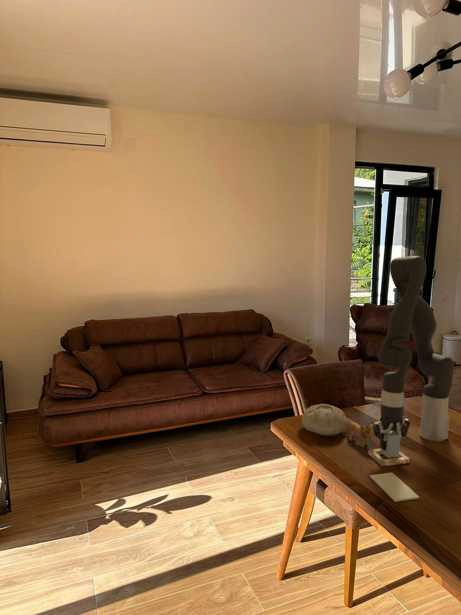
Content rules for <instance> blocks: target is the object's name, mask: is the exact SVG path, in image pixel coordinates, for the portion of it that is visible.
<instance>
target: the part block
mask: <svg viewBox="0 0 461 615" xmlns="http://www.w3.org/2000/svg"><path fill="white" fill-rule="evenodd" d="M385 431H386V430H385ZM386 441H387V444H386V450H385V451H384V450H383V449H382V448H381V447H380V449H381V453H382V454H381V455H383V456H385V457H386V459H392V458H398V457H399V452H401V444H400V434H397V433H396V432H394V431H390V434H389V435H387V439H386Z"/></svg>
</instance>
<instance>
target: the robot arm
mask: <svg viewBox="0 0 461 615" xmlns="http://www.w3.org/2000/svg"><path fill="white" fill-rule="evenodd" d="M389 273H390V277H391V280H392V282H393V284H394V286H395V289H396V291H397V294H398V295H399V298H400V301H399V302H398V303H397V304H396V306H395V307H394V309H393V310H392V312H391V314H390V318H389V323H388V330H387V333H386V335H385V338H384V341H383V343H382V344H381V346H380V349H379V351H378V355H377V357H378V358H377V359H378V360H379V363H380V364H381V365H383V366H385V367H386V366H387V367H393V368H397V371H388V372H387V371H386V372H385V373H384V374H383V376H382V388H381V390H382V391H381V396H380V419H379V420H378V421H373V422H372V423H371V424H372V425H373V429H374V433H375V437H376V438H377V439H378V440H379V443H380V444H379V447H380V449H381V448H382V449H383V450H384V451H385V450H386V444H387V441H386V439H387V435H389V434H390V431H394V432H396V433H397V434H400V445H401V444H402V442H401V440H402V438H403V437H404V438H406V437H407V436H408V432H409V429H410V425H411V420H409V419H408V418H404V411H405V380H406V376H407V372H408V370H409V367H410V364H411V362H412V356H413V354H412V351H411V350H410V349H409V348H408V347H403V346H396V345H395V343H397V342H403V341H407V340H409V338H410V335H411V334H412V338H413V342H414V345H415V346H414V347H415V349H416V353H417V361H418V365H419V368H420V371H421V372H422V374H424V375H425V376H428V377H431V378H432V379H433V378H434V383H429V384H425V385H424V386H423V387H422V398H421V400H422V401H421V413H420V424H419V425H420V428H419V436H420V437H421V438H423V439H425V440H428V441H432V442H444V441H445V440H446V439H448V438H449V428H450V415H449V414H448V413H449V412H448V411H449V399H450V398H449V396H450V392H451V390H452V386H453V378H454V370H455V364H454V361H453V358H452V357H449V356H446V355H443V354H438V353H436V352H435V351H434V349H433V344H432V338H434V335H435V332H436V330H437V321H436V318H435V314H434V311H433V308H432V307H431V306H430V305H429V303H428V302H426V300H425V299H423V298H422V296H421V295H420V294H421V291H422V288H423V285H424V282H425V278H426V275H427V263H426V261H425V259H424V257H422V256H419V255H412V256H400V257H396V258H393V259H392V260H391V262H390V264H389ZM385 430H386V431H385Z"/></svg>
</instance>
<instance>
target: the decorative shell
mask: <svg viewBox="0 0 461 615" xmlns="http://www.w3.org/2000/svg"><path fill="white" fill-rule="evenodd" d="M347 421H348V419H347V417H346V415H345V413H344V411H343V410H341V408H338V407H336V406H334V405H331V404H326V403H320V404H314V405H310V406H309V407H308V408H306V409H305V410H303V413H302V415H301V423H302V426H303V427H304V429H305V430H307V431H309V432H312V433H315V434H318V435H320V436H324V437H330V436H335V435H336V436H337V435H339V434H341V433H342V432H344V430H345V429H346V427H347Z"/></svg>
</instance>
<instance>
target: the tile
mask: <svg viewBox="0 0 461 615" xmlns="http://www.w3.org/2000/svg"><path fill="white" fill-rule="evenodd" d="M369 477H370V479H372V481H373V482H375V484H376V485H377V486H379V487H380V488H381V490H382V491H383V492H384V493H386V494H387V495H388V496H389V498H391V499H392V501H394V502H396V503H397V502H402V501H409V500H410V501H411V500H417V499H418V500H419V499H420V496H419V495H418V494H417V493H416V492H415V491H413V489H412V488H411V487H409V486H408V485H407V484H406V483H404V482H403V481H402V480H401V479H400V478H399V477H398V476H397V475H395V474H394V473H393V472H385V473H379V474H370V475H369Z"/></svg>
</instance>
